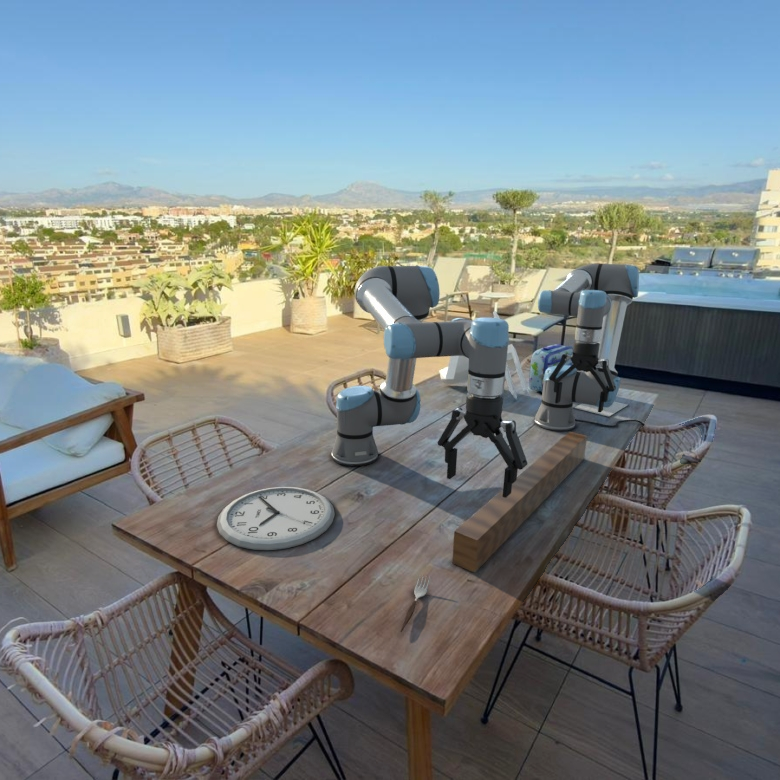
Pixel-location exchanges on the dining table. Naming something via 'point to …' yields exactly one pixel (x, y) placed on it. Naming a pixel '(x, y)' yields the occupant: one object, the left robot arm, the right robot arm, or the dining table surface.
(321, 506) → the wall clock
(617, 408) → the invitation card
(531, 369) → the lunch box
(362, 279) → the left robot arm
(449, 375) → the white plastic object
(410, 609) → the fork
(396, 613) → the dining table surface
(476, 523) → the post
